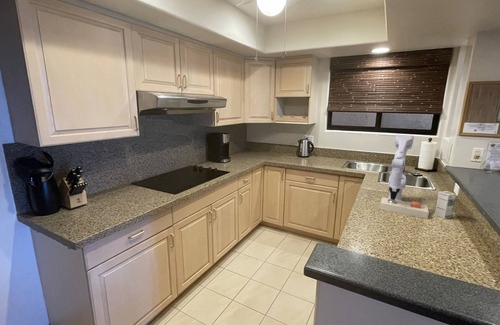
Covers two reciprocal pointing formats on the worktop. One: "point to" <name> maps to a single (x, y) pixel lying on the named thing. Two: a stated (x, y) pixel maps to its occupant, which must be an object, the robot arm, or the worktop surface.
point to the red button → (415, 204)
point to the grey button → (392, 201)
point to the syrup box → (445, 204)
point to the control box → (404, 208)
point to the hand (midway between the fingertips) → (392, 199)
